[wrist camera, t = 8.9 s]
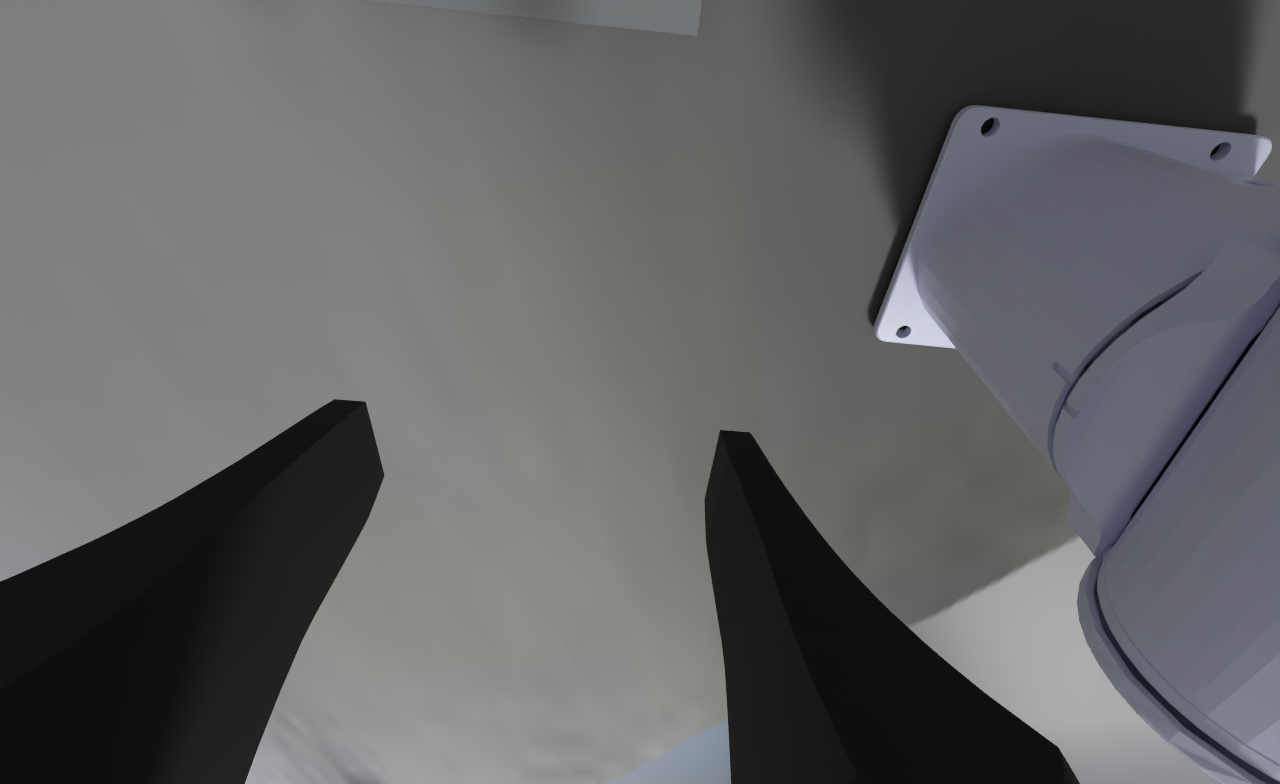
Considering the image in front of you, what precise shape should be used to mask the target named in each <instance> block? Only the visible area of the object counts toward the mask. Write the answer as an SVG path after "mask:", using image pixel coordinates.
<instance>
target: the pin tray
mask: <svg viewBox="0 0 1280 784" xmlns="http://www.w3.org/2000/svg"><path fill="white" fill-rule="evenodd" d="M368 1H377V2H386V3H395V4H405V5H414V6H423V7H433V8H442V9H451V10H460V11H470V12H479V13H488V14H498V15H507V16H516V17H525V18H535V19H544V20H553V21H563V22H572V23H581V24H591V25H600V26H609V27H618V28H628V29H637V30H646V31H656V32H665V33H674V34H683V35H693V36H698V28H699V20H700V12H701V4H702V0H368Z"/></svg>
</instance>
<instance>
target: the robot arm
mask: <svg viewBox="0 0 1280 784" xmlns="http://www.w3.org/2000/svg"><path fill="white" fill-rule="evenodd" d="M989 118H993V120H994V123H993V126H992V128H991V129H990V131H988V132H987V133H985V134H982V133H981V126H982V125H983V123H984V122H985V121H986V120H988V119H989ZM1219 144H1221V145H1220V147H1219V150H1218V151H1217V152H1216V153H1215V154H1214V155H1212V156H1210V154H1211V151H1212V150H1213V149H1214V148H1215V147H1216V146H1217V145H1219ZM1271 150H1272V142H1271V140H1270V139H1269V138H1266V137H1263V136H1259V135H1254V134H1245V133H1235V132H1226V131H1216V130H1207V129H1198V128H1188V127H1179V126H1169V125H1160V124H1151V123H1141V122H1132V121H1122V120H1113V119H1104V118H1094V117H1085V116H1075V115H1066V114H1057V113H1047V112H1038V111H1028V110H1019V109H1010V108H1000V107H991V106H981V105H971V106H967V107H965V108H963V109H962V110H961V111H960V112H959V113H958V114H957V115H956V116H955V118H954V120H953V121H952V124H951V126H950V129H949V132H948V134H947V137H946V139H945V142H944V145H943V147H942V150H941V152H940V155H939V158H938V160H937V163H936V165H935V168H934V171H933V173H932V176H931V178H930V181H929V184H928V186H927V189H926V191H925V194H924V197H923V199H922V202H921V204H920V207H919V209H918V212H917V215H916V217H915V220H914V222H913V225H912V228H911V230H910V233H909V235H908V238H907V241H906V243H905V246H904V248H903V251H902V254H901V256H900V259H899V261H898V264H897V267H896V269H895V272H894V274H893V277H892V280H891V282H890V285H889V287H888V290H887V293H886V295H885V298H884V300H883V303H882V306H881V308H880V311H879V313H878V316H877V319H876V321H875V324H874V329H873V330H874V332H875V334H876V336H877V338H879V339H880V340H882V341H885V342H895V343H905V344H915V345H925V346H936V347H946V348H956V349H957V350H958V351H959V353H960V354H961V355H962V356H963V357H964V359H965V360H966V361H967V362H968V364H969V365H970V366H971V367H972V369H973V370H974V371H975V372H976V374H977V375H978V376H979V377H980V379H981V380H982V381H983V382H984V383H985V385H986V386H987V387H988V388H989V390H990V391H991V392H992V393H993V395H994V396H995V397H996V398H997V400H998V401H999V402H1000V403H1001V405H1002V406H1003V407H1004V408H1005V409H1006V411H1007V412H1008V413H1009V414H1010V416H1011V417H1012V418H1013V419H1014V421H1015V422H1016V423H1017V424H1018V426H1019V427H1020V428H1021V429H1022V430H1023V432H1024V433H1025V434H1026V435H1027V437H1028V438H1029V439H1030V440H1031V442H1032V443H1033V444H1034V445H1035V447H1036V448H1037V449H1038V450H1039V452H1040V453H1041V454H1042V455H1043V456H1044V458H1045V459H1046V460H1047V461H1048V463H1049V464H1050V465H1051V466H1052V468H1053V469H1054V470H1055V471H1056V473H1057V474H1058V475H1059V476H1060V478H1061V479H1062V480H1063V481H1064V483H1065V485H1066V486H1067V488H1068V490H1069V492H1070V497H1071V501H1070V507H1069V509H1068V512H1067V514H1066V519H1067V520H1068V521H1069V523H1070V524H1071V525H1072V527H1073V528H1074V529H1075V531H1076V532H1077V533H1078V534H1079V536H1080V537H1081V538H1082V540H1083V541H1084V542H1085V544H1086V545H1087V546H1088V548H1089V549H1090V550H1091V552H1092V553H1093V554H1094V556H1096V558H1094V559H1093V560H1092V562H1091V563H1090V565H1089V566H1088V568H1087V569H1086V571H1085V573H1084V575H1083V577H1082V580H1081V582H1080V585H1079V592H1078V600H1077V605H1078V613H1079V621H1080V624H1081V627H1082V630H1083V633H1084V636H1085V639H1086V641H1087V643H1088V645H1089V647H1090V649H1091V651H1092V653H1093V655H1094V657H1095V658H1096V661H1097V662H1098V664H1099V666H1100V667H1101V669H1102V670H1103V671H1104V673H1105V674H1106V676H1107V677H1108V679H1109V680H1110V681H1111V683H1112V684H1113V686H1114V687H1115V689H1116V690H1117V691H1118V692H1119V693H1120V695H1121V696H1122V697H1123V698H1124V699H1125V700H1126V701H1127V702H1128V704H1129V705H1130V706H1131V707H1132V708H1133V709H1134V710H1135V711H1136V713H1137V714H1138V715H1139V716H1140V717H1141V718H1142V719H1143V720H1144V721H1145V722H1146V723H1147V724H1148V725H1149V726H1150V727H1151V728H1152V729H1153V730H1155V731H1156V732H1157V733H1158V734H1159V735H1160V736H1161V737H1162V738H1163V739H1164V740H1165V741H1166V742H1167V743H1168V744H1170V745H1171V746H1172V747H1173V748H1175V749H1176V750H1177V751H1178V752H1180V753H1181V754H1182V755H1183V756H1185V757H1186V758H1187V759H1188V760H1190V761H1191V762H1192V763H1193V764H1194V765H1196V766H1197V767H1198V768H1199V769H1201V770H1202V771H1204V772H1205V773H1207V774H1208V775H1210V776H1211V777H1213V778H1214V779H1215V780H1217V781H1218V782H1220V783H1221V784H1280V184H1277V183H1274V182H1271V181H1268V180H1265V179H1262V178H1258V177H1255V176H1254V175H1255V174H1256V172H1257V171H1258V170H1259V168H1260V167H1261V165H1262V164H1263V163H1264V161H1265V160H1266V158H1267V157H1268V155H1269V153H1270V152H1271ZM902 326H907V328H906V329H905V331H903V332H901V333H896V331H897V330H898V328H900V327H902ZM383 478H384V472H383V468H382V464H381V460H380V456H379V453H378V449H377V445H376V441H375V437H374V433H373V429H372V425H371V421H370V417H369V413H368V410H367V406H366V402H361V401H349V400H336V399H335V400H333V401H331V402H330V403H328V404H326V405H324V406H323V407H321V408H320V409H318V410H316V411H315V412H313V413H312V414H310V415H308V416H307V417H305V418H304V419H302V420H301V421H299V422H298V423H296V424H295V425H293V426H292V427H290V428H288V429H287V430H285V431H284V432H282V433H281V434H279V435H278V436H276V437H275V438H273V439H272V440H270V441H268V442H267V443H265V444H264V445H262V446H261V447H259V448H258V449H256V450H254V451H253V452H251V453H250V454H248V455H247V456H245V457H243V458H242V459H240V460H239V461H237V462H236V463H234V464H232V465H231V466H229V467H227V468H226V469H224V470H222V471H221V472H219V473H217V474H215V475H214V476H212V477H210V478H209V479H207V480H205V481H204V482H202V483H200V484H199V485H197V486H195V487H194V488H192V489H190V490H188V491H187V492H185V493H183V494H182V495H180V496H178V497H177V498H175V499H173V500H171V501H169V502H168V503H166V504H164V505H162V506H160V507H158V508H157V509H155V510H153V511H151V512H149V513H147V514H145V515H143V516H141V517H140V518H138V519H136V520H134V521H132V522H130V523H128V524H126V525H124V526H122V527H120V528H118V529H116V530H114V531H112V532H110V533H108V534H106V535H104V536H102V537H100V538H98V539H95V540H93V541H91V542H89V543H87V544H85V545H82V546H80V547H78V548H76V549H73V550H71V551H69V552H67V553H64V554H62V555H60V556H58V557H56V558H53V559H51V560H49V561H47V562H44V563H42V564H40V565H38V566H35V567H33V568H31V569H29V570H26V571H24V572H22V573H20V574H18V575H15V576H13V577H10V578H8V579H6V580H3V581H1V582H0V784H245V781H246V778H247V776H248V773H249V770H250V767H251V765H252V762H253V759H254V756H255V754H256V751H257V748H258V746H259V743H260V741H261V738H262V736H263V733H264V730H265V728H266V725H267V723H268V720H269V718H270V715H271V713H272V710H273V708H274V705H275V703H276V700H277V698H278V695H279V693H280V690H281V688H282V686H283V683H284V681H285V679H286V676H287V674H288V672H289V669H290V667H291V665H292V662H293V660H294V658H295V655H296V653H297V651H298V648H299V646H300V644H301V642H302V640H303V638H304V636H305V634H306V632H307V630H308V628H309V626H310V624H311V622H312V620H313V618H314V616H315V614H316V612H317V611H318V609H319V607H320V605H321V603H322V602H323V600H324V598H325V596H326V594H327V593H328V591H329V589H330V587H331V585H332V584H333V582H334V580H335V578H336V576H337V575H338V573H339V571H340V569H341V567H342V566H343V564H344V562H345V560H346V558H347V557H348V555H349V553H350V551H351V549H352V547H353V546H354V544H355V542H356V540H357V538H358V536H359V535H360V533H361V531H362V529H363V527H364V525H365V523H366V521H367V519H368V517H369V514H370V512H371V510H372V507H373V505H374V502H375V500H376V497H377V494H378V491H379V489H380V486H381V483H382V480H383ZM705 526H706V545H707V552H708V558H709V565H710V571H711V578H712V584H713V591H714V597H715V603H716V609H717V616H718V622H719V628H720V634H721V641H722V648H723V656H724V665H725V677H726V693H727V709H728V726H729V746H730V765H731V784H1080V783H1079V782H1078V780H1077V778H1076V776H1075V774H1074V773H1073V771H1072V770H1071V768H1070V766H1069V764H1068V763H1067V761H1066V759H1065V758H1064V756H1063V755H1062V753H1061V751H1060V750H1059V748H1058V747H1057V746H1056V745H1054V744H1053V743H1052V742H1050V741H1049V740H1047V739H1046V738H1045V737H1043V736H1042V735H1041V734H1039V733H1038V732H1037V731H1035V730H1034V729H1032V728H1031V727H1030V726H1029V725H1027V724H1026V723H1025V722H1023V721H1022V720H1020V719H1019V718H1018V717H1016V716H1015V715H1014V714H1012V713H1011V712H1010V711H1008V710H1007V709H1006V708H1004V707H1003V706H1001V705H1000V704H999V703H997V702H996V701H995V700H993V699H992V698H991V697H989V696H988V695H987V694H985V693H984V692H983V691H982V690H980V689H979V688H978V687H977V686H975V685H974V684H973V683H972V682H971V681H969V680H968V679H967V678H966V677H965V676H963V675H962V674H961V673H960V672H958V671H957V670H956V669H955V668H953V667H952V666H951V665H950V664H949V663H947V662H946V661H945V660H944V659H943V658H942V657H940V656H939V655H938V654H937V653H936V652H935V651H933V650H932V649H931V648H930V647H929V646H928V645H926V644H925V643H924V642H923V641H922V640H921V639H920V638H919V637H918V636H917V635H916V634H915V633H913V632H912V631H911V630H910V629H909V628H908V627H907V626H906V625H905V624H904V623H903V622H902V621H900V620H899V619H898V618H897V617H896V616H895V615H894V614H893V613H892V612H891V611H890V610H889V609H888V608H887V607H886V606H885V605H884V604H883V603H882V602H880V601H879V600H878V599H877V598H876V597H875V596H874V595H873V594H872V593H871V591H870V590H869V589H868V588H867V587H866V586H865V585H864V584H863V583H862V582H861V581H860V580H859V579H858V578H857V577H856V575H855V574H854V573H853V572H852V571H851V570H850V569H849V568H848V567H847V566H846V564H845V563H844V562H843V561H842V560H841V559H840V557H839V556H838V555H837V554H836V553H835V552H834V550H833V549H832V548H831V547H830V545H829V544H828V543H827V542H826V540H825V539H824V538H823V537H822V536H821V534H820V533H819V532H818V531H817V529H816V528H815V527H814V525H813V524H812V523H811V521H810V520H809V519H808V518H807V516H806V515H805V513H804V512H803V511H802V509H801V508H800V507H799V505H798V504H797V502H796V501H795V500H794V498H793V497H792V495H791V494H790V493H789V491H788V490H787V488H786V487H785V485H784V484H783V482H782V481H781V479H780V478H779V476H778V475H777V473H776V472H775V470H774V469H773V467H772V466H771V464H770V463H769V461H768V460H767V458H766V456H765V455H764V453H763V452H762V450H761V448H760V447H759V445H758V444H757V442H756V440H755V439H754V437H753V436H752V435H751V434H750V432H737V431H725V430H720V434H719V438H718V443H717V447H716V451H715V456H714V460H713V465H712V469H711V474H710V478H709V482H708V487H707V491H706V496H705Z"/></svg>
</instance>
